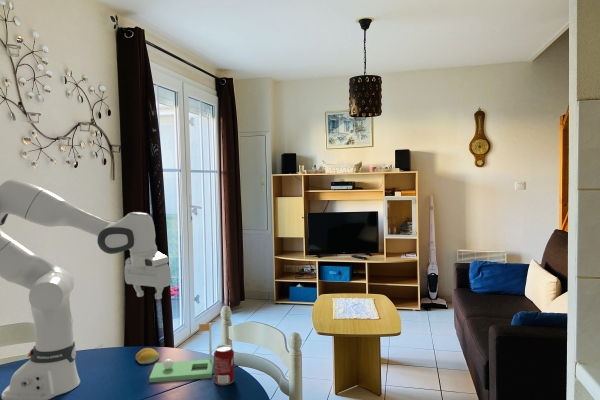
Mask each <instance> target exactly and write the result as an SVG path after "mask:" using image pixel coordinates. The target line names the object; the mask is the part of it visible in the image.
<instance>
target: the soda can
mask: <svg viewBox="0 0 600 400" xmlns="http://www.w3.org/2000/svg"><path fill="white" fill-rule="evenodd" d="M213 374H214V376H213V378H214V383H215V384H217V385H218V386H223V387H224V386H228V385H231V384H232V383H233V382H234V381H235V351H234V350H233V346H232V345H229V344H222V345H221V344H220V345H218V346H216V347H215V351H214V352H213Z"/></svg>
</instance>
